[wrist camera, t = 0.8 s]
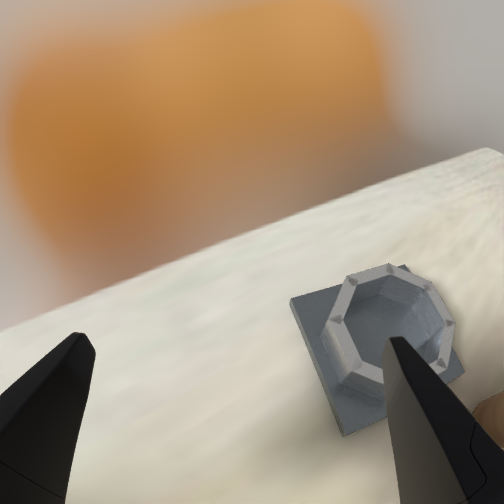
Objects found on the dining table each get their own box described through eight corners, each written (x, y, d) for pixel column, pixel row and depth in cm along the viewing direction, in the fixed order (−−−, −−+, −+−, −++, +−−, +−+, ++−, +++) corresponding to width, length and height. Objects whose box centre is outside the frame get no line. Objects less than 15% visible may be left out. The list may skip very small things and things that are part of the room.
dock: (458, 375, 23) (484, 358, 19) (342, 436, 20) (360, 429, 17) (401, 270, 30) (416, 244, 27) (289, 304, 27) (295, 278, 24)
